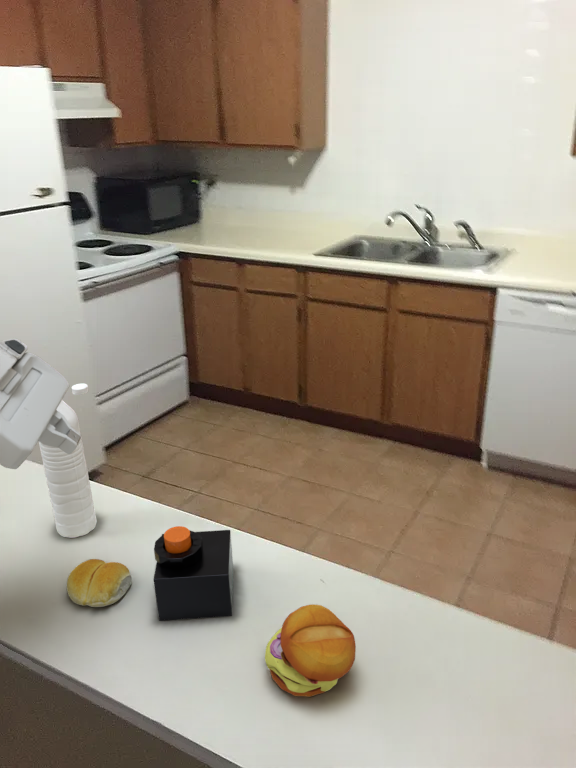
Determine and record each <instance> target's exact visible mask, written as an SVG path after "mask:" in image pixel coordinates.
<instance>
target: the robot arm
mask: <svg viewBox="0 0 576 768" xmlns="http://www.w3.org/2000/svg"><path fill="white" fill-rule="evenodd" d="M28 349H29V347H28V345H27V344H26V343H25V342H23V341H22V340H21V339H19V338H16V337H15V338H14V337H13V338H9V339H4V340H0V466H2V467H3V468H6V469H10V470H17V469H19V467H21V465H23V463H24V462H26V460H27V459H28V458H29V456H30V455H32V453H33V451H34V450H35V448H36V446H37V445H38V443H39V442H41V443H42V444H44V445H48V446H52V447H57V448H60V449H61V450H62V451H64V452H65V453H67V454H71V453H72V452H73V451H74V450H75V449H76V447H77V445H78V442H79V441H80V438H81V439H82V433H81V434H80V433H79V432H77V431H76V430H75V429H73V428H72V427H71V425H70V424H69V422H68V421H67V420H66V418H65V417H64V415H63V414H61V413H60V412H58V411H57V410H56V409H57V407H58V406H59V404H60V402H61V400H63V399H64V398H65V395H66V393H67V391H68V390H69V388H70V384H69V382H68V380H67V378H66V377H65V376H64V375H63V374H62V373H61V372H59V371H58V370H57V369H56V368H55V367H54V366H52V365H50V363H48V362H47V361H45V360H44V359H43V358H41V357H40V356H38V355H37V354H36V353H33V352H29V351H28ZM27 351H28V352H27Z"/></svg>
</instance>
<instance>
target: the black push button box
mask: <svg viewBox="0 0 576 768" xmlns="http://www.w3.org/2000/svg"><path fill="white" fill-rule="evenodd" d="M189 531H190V536H191V547H190V549H189V550H187V551H185V552H182V553H170V552H167V551H166V549H165V542H164V533H161V535H160V536H159V538H157V539H156V540H155V542H154V546H153V553H154V559H155V561H156V564H155V569H154V574H153V578H152V579H153V586H154V594H155V599H156V600H155V601H156V607H157V615H158V621H159V622H165V621H181V620H194V619H196V620H197V619H209V618H210V619H211V618H212V619H213V618H227V617H232V616H233V603H234V601H233V599H234V597H233V596H234V557H233V547H232V534H231V533H232V532H231V529H219V530H204V531H194V530H190V529H189Z"/></svg>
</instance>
